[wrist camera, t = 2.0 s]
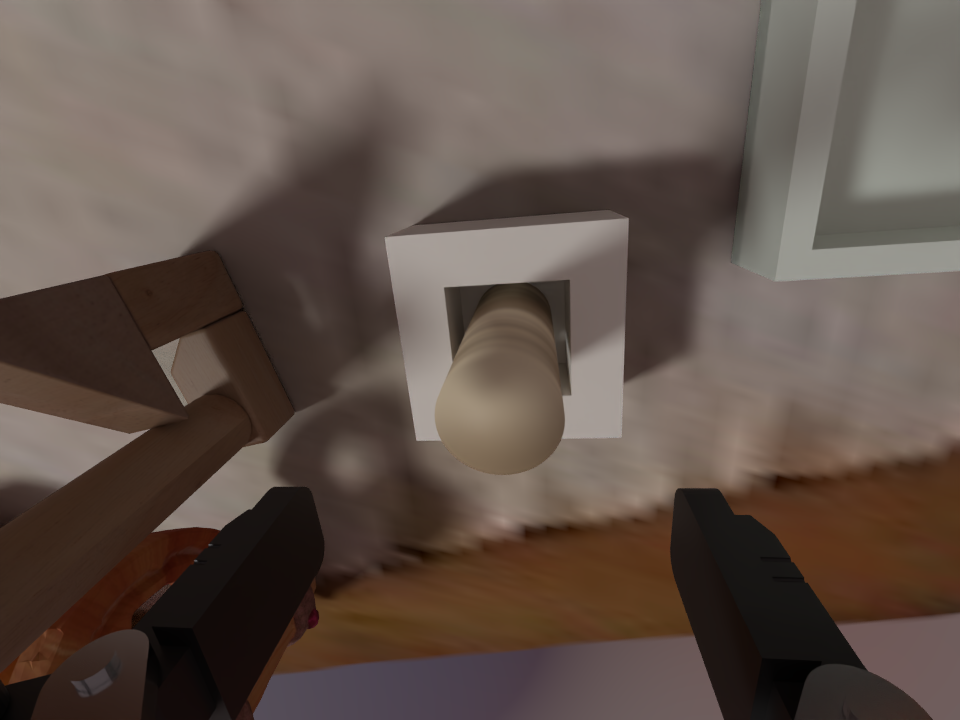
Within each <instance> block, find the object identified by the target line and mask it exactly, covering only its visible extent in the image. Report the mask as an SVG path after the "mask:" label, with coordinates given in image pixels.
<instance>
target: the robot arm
mask: <svg viewBox="0 0 960 720" xmlns="http://www.w3.org/2000/svg"><path fill="white" fill-rule="evenodd" d="M208 545H209V546H208V548H205V549H204V550H203V551H202V552H201V553H200V554H199V555H198V557H197V558H196V559H195V560H194V564H193V565H192V564H190V565H189V567H188V568H187V569H186V570H185V571H184V572H183V573H182V574H181V575H180V577H179V578H178V579H177V580H176V581H175V582H174V583H173V584H172V585H171V587H170V588H169V589H168V590H167V591H166V592H165V593H164V594H163V595H162V597H161V598H160V599H159V600H158V601H157V602H156V603H155V604H154V605H153V607H152V608H151V609H150V610H149V611H148V612H147V613H146V614H145V615H144V617H143V618H142V619H141V620H140V621H139V622H138V623H137V624H136V625H135V627H134V628H133V629H127V630H120V631H117V632H113V633H110V634H107V635H105V636H102V637H100V638H98V639H96V640H94V641H92V642H91V643H89V644H87V645H85V646H84V647H82V648H81V649H79V650H78V651H76V652H75V653H74V654H73V655H71V656H70V657H69V658H67V659H66V660H65V661H64V662H63V663H62V664H61V665H60V666H59V667H58V668H57V669H56V670H55V671H54V672H53V673H52V674H49V675H45V676H41V677H37V678H33V679H29V680H25V681H21V682H17V683H13V684H9V685H5V686H4V684H3V683H2V681H1V680H0V720H236V718H237V716H238V714H239V713H240V711H241V709H242V707H243V705H244V704H245V702H246V700H247V698H248V696H249V695H250V693H251V691H252V689H253V688H254V686H255V684H256V682H257V680H258V679H259V677H260V675H261V673H262V671H263V670H264V668H265V666H266V664H267V662H268V661H269V659H270V657H271V655H272V653H273V652H274V650H275V648H276V646H277V644H278V643H279V641H280V639H281V637H282V635H283V634H284V632H285V630H286V628H287V626H288V625H289V623H290V621H291V619H292V617H293V616H294V614H295V612H296V610H297V608H298V607H299V605H300V603H301V601H302V599H303V598H304V596H305V594H306V592H307V590H308V589H309V587H310V585H311V583H312V581H313V580H314V578H315V576H316V574H317V572H318V571H319V569H320V566H321V564H322V561H323V556H324V538H323V534H322V530H321V526H320V522H319V518H318V515H317V511H316V507H315V503H314V499H313V496H312V493H311V491H310V489H309V488H307V487H273V488H271V489H270V490H269V491H268V492H267V493H266V494H265V495H264V496H263V497H262V498H261V500H260V501H259V502H258V503H257V504H256V505H255V507H254V508H253V509H252V510H247V511H246V512H244V513H243V514H241V515H240V516H238V517H237V518H235V519H234V520H233V521H231V522H230V523H228V524H227V525H225V527H224V528H223V529H222V530H221V531H220V532H219V533H218V534H217V535H216V537H215V538H214V539H213V540H212V541H211V542H210V543H209V544H208ZM670 554H671V564H672V570H673V574H674V578H675V581H676V584H677V587H678V590H679V593H680V596H681V598H682V601H683V604H684V607H685V610H686V613H687V616H688V618H689V621H690V624H691V627H692V630H693V633H694V635H695V638H696V641H697V644H698V647H699V650H700V652H701V655H702V658H703V661H704V664H705V667H706V669H707V672H708V675H709V678H710V681H711V684H712V687H713V689H714V692H715V695H716V698H717V701H718V703H719V707H720V709H721V712H722V715H723V718H724V720H933V719H932V718H931V717H930V716H929V715H928V713H927V712H926V711H925V710H924V709H923V708H922V707H921V706H920V705H919V704H918V703H917V702H916V701H915V700H914V699H912V698H911V697H910V696H908V695H907V694H906V693H905V692H904V691H902V690H901V689H899V688H898V687H896V686H895V685H893V684H892V683H890V682H889V681H887V680H885V679H883V678H881V677H880V676H878V675H875V674H873V673H871V672H869V671H868V670H867V669H866V668H865V666H864V665H863V664H862V662H861V661H860V659H859V658H858V657H857V655H856V654H855V652H854V651H853V649H852V648H851V646H850V645H849V643H848V642H847V640H846V639H845V638H844V636H843V634H842V633H841V632H840V630H839V629H838V627H837V626H836V624H835V623H834V621H833V620H832V618H831V617H830V615H829V614H828V612H827V611H826V609H825V608H824V606H823V605H822V603H821V602H820V600H819V599H818V598H817V596H816V595H815V593H814V592H813V590H812V589H811V587H810V586H809V584H808V583H805V581H804V577H803V575H802V574H801V573H800V571H799V570H798V568H797V567H796V565H795V564H794V562H791V559H790V556H789V555H788V553H787V552H786V550H785V549H784V547H783V546H782V545H781V543H780V542H779V540H778V539H777V537H776V536H775V534H773V533H772V532H771V531H770V530H768V529H767V528H766V527H764V526H763V525H762V524H761V523H759V522H758V521H757V520H756V519H754V518H753V517H752V516H751V515H734V513H733V512H732V510H731V508H730V507H729V505H728V503H727V502H726V500H725V498H724V496H723V495H722V493H721V492H720V491H719V490H718V489H715V488H678V489H677V490H676V493H675V499H674V511H673V522H672V534H671V546H670Z"/></svg>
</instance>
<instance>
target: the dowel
mask: <svg viewBox="0 0 960 720" xmlns="http://www.w3.org/2000/svg"><path fill="white" fill-rule="evenodd" d="M435 424H436V429H437V432H438V434H439V437H440V439H441V441H442V443H443V444H444V445H445V447H446V448H447V450H448V451H449V452H450V453H451V454H452V455H453V456H454V457H455V458H457V459H458V460H459V461H460V462H462V463H463V464H465V465H467V466H469V467H471V468H473V469H475V470H478V471H481V472H485V473H489V474H496V475H509V474H516V473H521V472H524V471H527V470H530V469H532V468H534V467H536V466H538V465H539V464H541V463H542V462H544V461H545V460H546V459H547V458H548V457H549V456H550V455H551V454H552V453H553V452H554V451H555V449H556V448H557V446H558V445H559V443H560V441H561V438H562V436H563V432H564V427H565V413H564V405H563V397H562V390H561V382H560V375H559V367H558V360H557V352H556V345H555V337H554V330H553V322H552V315H551V309H550V305H549V303H548V301H547V299H546V297H545V296H544V294H543V293H542V292H541V291H540V290H539V289H538V288H536V287H535V286H533V285H531V284H529V283H527V282H524V283H508V284H496V285H494V286H492V287H491V288H489V289H488V290H487V291H486V292H485V293H484V295H483V296H482V297H481V299H480V301H479V303H478V305H477V308H476V310H475V312H474V315H473V317H472V319H471V321H470V324H469V326H468V328H467V331H466V333H465V335H464V338H463V340H462V342H461V345H460V347H459V349H458V351H457V354H456V356H455V358H454V361H453V363H452V365H451V368H450V370H449V372H448V375H447V377H446V379H445V381H444V384H443V386H442V388H441V391H440V393H439V396H438V398H437V401H436V405H435Z"/></svg>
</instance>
